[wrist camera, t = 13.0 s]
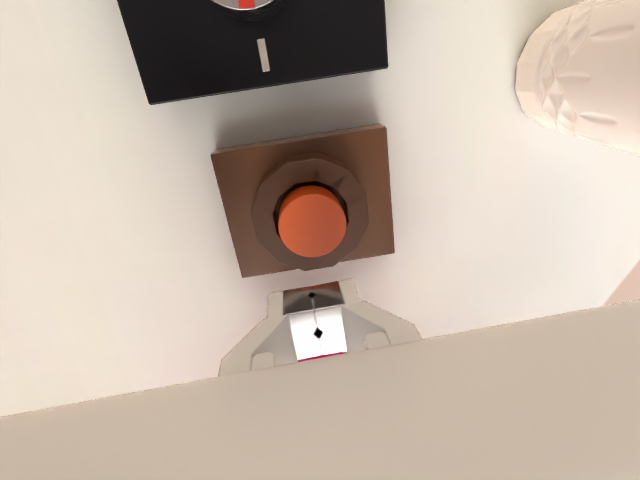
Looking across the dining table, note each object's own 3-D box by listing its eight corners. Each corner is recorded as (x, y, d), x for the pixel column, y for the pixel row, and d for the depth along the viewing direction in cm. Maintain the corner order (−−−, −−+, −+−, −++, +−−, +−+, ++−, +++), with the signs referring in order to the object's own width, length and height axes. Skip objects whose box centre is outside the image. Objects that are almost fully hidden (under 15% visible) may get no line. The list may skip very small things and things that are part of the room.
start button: (285, 249, 22) (284, 262, 20) (273, 190, 20) (272, 200, 19) (345, 239, 22) (350, 252, 20) (338, 180, 21) (342, 188, 19)
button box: (244, 266, 26) (238, 293, 22) (215, 149, 22) (203, 161, 19) (388, 242, 26) (402, 266, 23) (379, 123, 23) (395, 131, 19)
